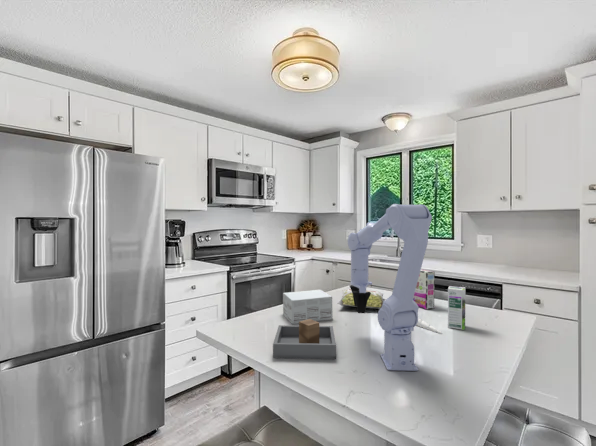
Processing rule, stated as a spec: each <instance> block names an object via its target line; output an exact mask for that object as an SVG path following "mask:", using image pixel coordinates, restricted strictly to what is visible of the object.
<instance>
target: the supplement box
mask: <svg viewBox="0 0 596 446" xmlns="http://www.w3.org/2000/svg"><path fill="white" fill-rule="evenodd" d="M282 315H283V316H284V317H285V318H286V319H287V320H288V321H289V322H290V323H291V324H292V325H293V324H295V325H296V324H299V322H300V321H304V320H308V319H312V320H314V321H317V322H319V321H329V320H333V296H332V295H331V294H329V293H327V292H325V291H324V290H323V289H312V290H302V291H301V290H300V291H289V292H283V293H282Z"/></svg>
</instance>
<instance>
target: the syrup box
mask: <svg viewBox="0 0 596 446" xmlns="http://www.w3.org/2000/svg"><path fill="white" fill-rule="evenodd" d="M447 328H448V329H453V330H454V329H456V330H462V331H465V330H466V287H465V286H464V287H462V286H452V285H449V286H448V288H447Z"/></svg>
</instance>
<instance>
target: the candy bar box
mask: <svg viewBox="0 0 596 446" xmlns="http://www.w3.org/2000/svg"><path fill="white" fill-rule="evenodd" d="M435 276H436V275H435V271H433V270H428V269H422V268H421V270H420V274H419V278H418V282H417V285H416V289H415V293H414V297H413V300H414V301H415V302H416V304H417V305H418V307H419V309H422V310H423V309H424V310H433V309H435V279H436V277H435Z"/></svg>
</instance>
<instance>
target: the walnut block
mask: <svg viewBox="0 0 596 446" xmlns="http://www.w3.org/2000/svg"><path fill="white" fill-rule="evenodd" d="M298 326H299V343H317V344H319V326H320V322H319V321H314V320H312V319H308V320H304V321H300V322H299V323H298Z"/></svg>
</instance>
